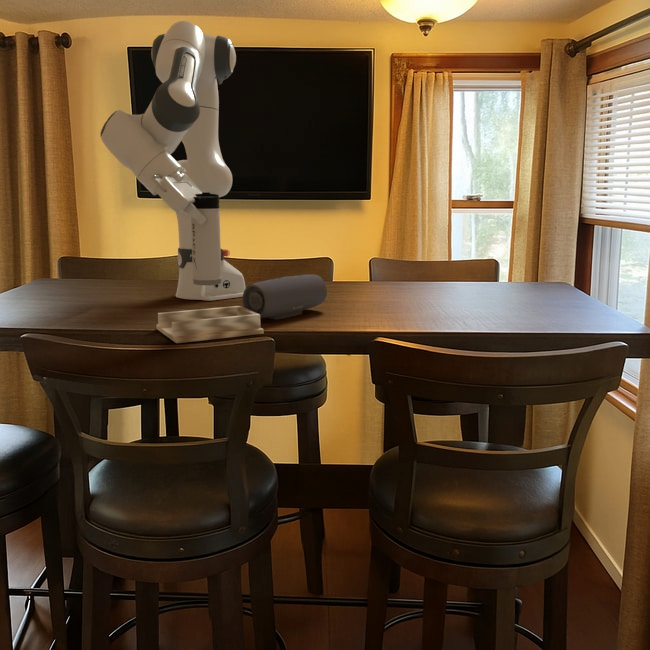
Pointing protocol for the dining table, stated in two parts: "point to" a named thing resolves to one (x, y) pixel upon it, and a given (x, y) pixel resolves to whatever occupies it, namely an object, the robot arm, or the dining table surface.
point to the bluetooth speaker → (284, 296)
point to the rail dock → (209, 324)
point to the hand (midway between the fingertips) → (208, 221)
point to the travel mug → (206, 241)
